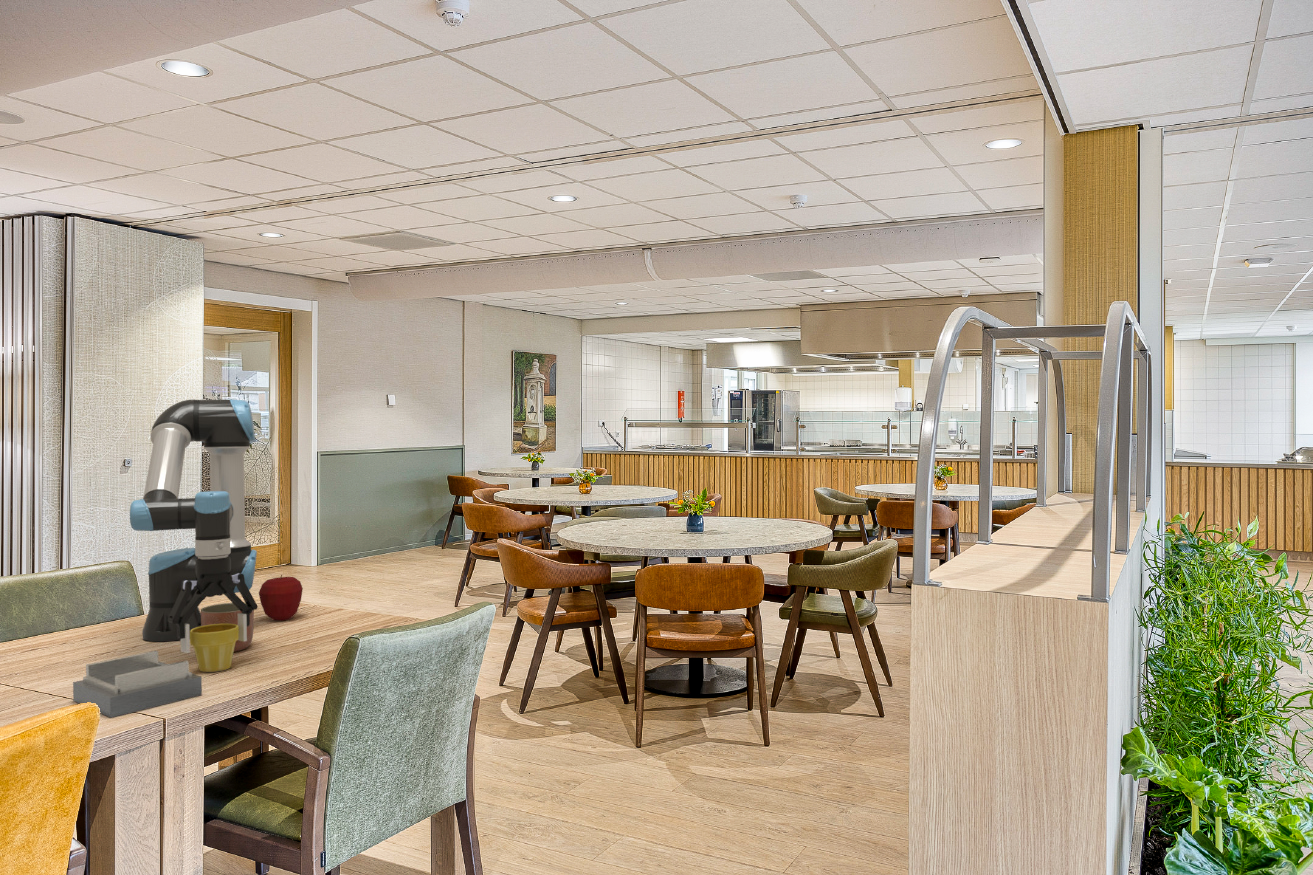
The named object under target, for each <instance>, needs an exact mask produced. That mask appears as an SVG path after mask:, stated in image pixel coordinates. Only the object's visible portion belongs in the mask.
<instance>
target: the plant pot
mask: <svg viewBox="0 0 1313 875" xmlns="http://www.w3.org/2000/svg"><path fill="white" fill-rule="evenodd" d="M238 638H239V627H238V625H236V624H211V625H204V626H200V627H196V628H193V629H191V630H190V646H192V648H193V650H194V654H195V658H196V661H197V665H198V669H199V671H200V672H202V673H213V672H214V673H215V672H221V671H222V672H223V671H225V670H229V669H230V668H231V667H232V661H233V658H234V657H233V656H234V653H235V652H234V647H235V643H236V641H237V640H238Z"/></svg>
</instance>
